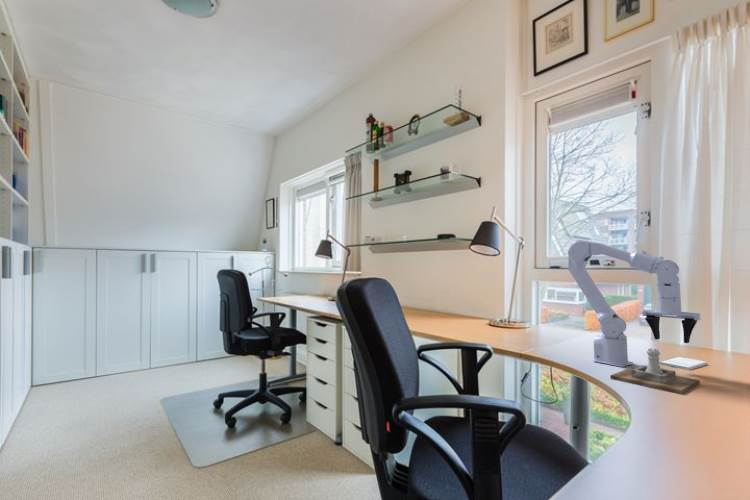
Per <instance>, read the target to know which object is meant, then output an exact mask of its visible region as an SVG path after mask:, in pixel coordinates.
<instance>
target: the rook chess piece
mask: <svg viewBox="0 0 750 500" xmlns="http://www.w3.org/2000/svg"><path fill="white" fill-rule="evenodd" d="M646 354H647V355H648V356H647V359H648V364H647V366H648V367H647V369H646V371H645V372H649V373H654V374H659V375H662V374H664V373H663V371H662V369H663V368H661V365H659V362H660V357H659V356H660V354H661V352H660V351H659V349H656V348H647V350H646Z"/></svg>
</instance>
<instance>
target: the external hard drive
mask: <svg viewBox="0 0 750 500" xmlns="http://www.w3.org/2000/svg"><path fill="white" fill-rule="evenodd" d="M659 364H660V366H664V365H665V366H664V367H671V368H675V367H676V369H681V370H685V371H691V370H693V369H698V368H700V367H701V368H702V367H705V366H708V362H707V361H703V360H700V359H695V358H694V359H693V358H687V357H686V358H685V357H682V356H678V357H675V358H671V359H667V360H663V361H659Z"/></svg>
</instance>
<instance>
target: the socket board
mask: <svg viewBox="0 0 750 500" xmlns="http://www.w3.org/2000/svg"><path fill="white" fill-rule="evenodd" d="M647 367H648V365H641V366H639V367H628V368H625V369H623V370H621V371H618V372H616V373H613V374H610V376H609V377H610V379H611V380H616V381H620V382H623V383H624V382H625V383H628V384H632V385H638V386H643V387H647V388H650V389H651V388H652V389H655V390H656V389H657V390H661V391H666V392H669V393H675V394H680V395H683V394H685V393H686V392H688V391H690V390H691V389H693V388H694V387H695V388H696V387H697V386H698V385H700V384H701V381H700V379H696V378H690V377H689V378H688V377H685V376H679V375H676V371H675V370H670V369H664V368H661V369H662V371H663V373H664V374H662V375H659V374H654V373H649V372H645V371H646V369H647Z"/></svg>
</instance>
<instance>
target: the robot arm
mask: <svg viewBox="0 0 750 500" xmlns="http://www.w3.org/2000/svg"><path fill="white" fill-rule="evenodd" d="M600 255H601V256H603V255H604V256H607V257H609V258H610V257H611V258H614V259H617V260H621V261H624V262H626V263H628V265H629V267H630V268H633V269H636V270H639V271H642V272H644V273H648V274H650V275H653V274H656V276H657V283H656V287H657V288H656V289H657V290H656V291H657V304H658V305H657V309H642V312H641V313H642V316H643V317H645V318H644V319H645V322H646V323H647V325H648V326H649V328H650V330H651V331H652V335H653V338H654V340H660V338H661V334H660V321H661V318H670V319H680V320H681V325H682V331H683V343H684V344H689V343H690V339H691V335H692V333H693V330H694V328H695V326H696V324H697V322H698V321H700V320H701V312H700V313H696V312H689V311H682V302H681V301H682V300H681V299H682V298H681V297H682V296H681V286H680V285H681V284H680V277H679V272H680V266H679V265H678V263H676V262H675V261H673V260H670V259H665V257H663V256H659V257H658V256H655V255H653V254H649V253H648V252H647V251H645V250H642V251H638V250H637V251H634V252H629V251H625V250H622V249H620V248H616V247H613V246H610V245H607V244H604V243H598V242H592V241H588V240H582V239H581V240H580V239H578V240H574V241H573V242H572V243H571V244H570V245H569V248H568V250H567V256H568V259H567V261H568V264H567V265H568V271H569V272H570V274H571V276H572V277H573V279H574V280H575V283H576V284H577V285H578V287H579V289H580V290H581V292H582V293H583V296H584V297H585V298H586V299H587V301H588V303H589V305H590V306H591V308H592V309H593V310H594V313H595V314H596V317H597V318H596V319H597V320H598V322H599V325H600V331H601V332H602V334H601V335H600V334H598V335H596V336H595V337H594V339H593V357H594V358H593V361H592V362H594V363H601V364H604V365H610V366H615V367H622V368H624V367H627V366H629V365H632V364H634V362H633V361H631V360H629V355H628V337H627V335H625V333H624V332H625V331H626V330H627V322H626V321H625V320H624V318H622V317H620V316H619V315H618V314H617V312H616V311H615V310H614V309H612V307H611V305H609V303H608V301H607V300H606V299H605V297H604V295H603V293H602V292H601V291H600V289H599V287H598V286H597V284H596V283H595V281H594V280H593V278H592V277H591V276H590V274H589V273H588V271H587V269H586V266H587V264H588V261H589V260H590V259H591V257H592V256H600ZM664 259H665V260H664Z"/></svg>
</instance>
